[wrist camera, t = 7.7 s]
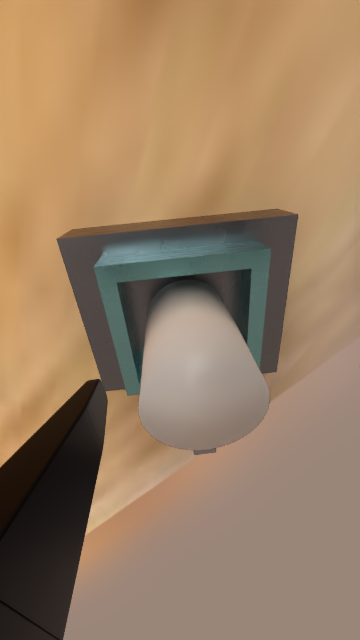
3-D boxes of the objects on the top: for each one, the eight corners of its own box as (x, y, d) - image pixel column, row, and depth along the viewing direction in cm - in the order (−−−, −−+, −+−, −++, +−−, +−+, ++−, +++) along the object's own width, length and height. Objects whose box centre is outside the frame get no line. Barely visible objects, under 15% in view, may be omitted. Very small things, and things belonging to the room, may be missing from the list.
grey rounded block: (226, 275, 16) (276, 349, 9) (225, 363, 20) (261, 464, 13) (140, 284, 16) (127, 365, 9) (155, 371, 20) (154, 477, 13)
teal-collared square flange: (277, 208, 17) (316, 219, 13) (263, 349, 23) (287, 389, 19) (72, 229, 17) (42, 247, 13) (111, 366, 23) (100, 411, 19)
